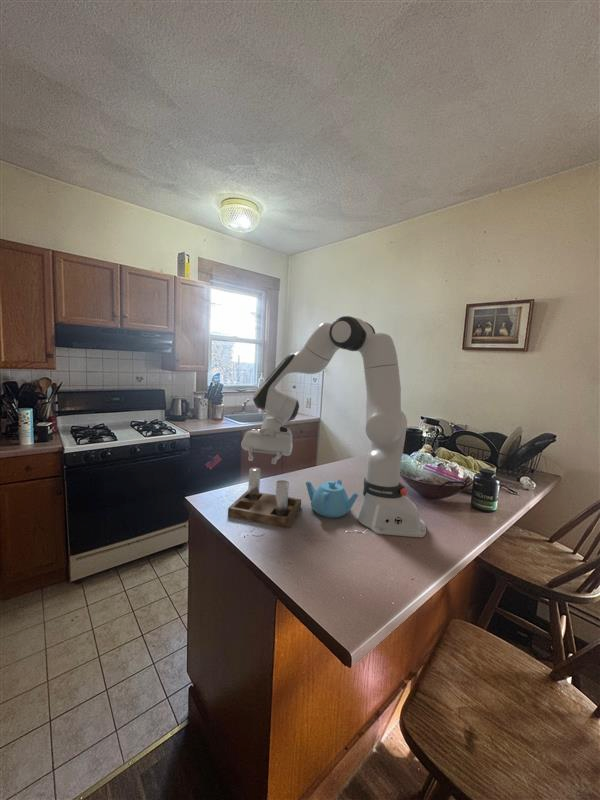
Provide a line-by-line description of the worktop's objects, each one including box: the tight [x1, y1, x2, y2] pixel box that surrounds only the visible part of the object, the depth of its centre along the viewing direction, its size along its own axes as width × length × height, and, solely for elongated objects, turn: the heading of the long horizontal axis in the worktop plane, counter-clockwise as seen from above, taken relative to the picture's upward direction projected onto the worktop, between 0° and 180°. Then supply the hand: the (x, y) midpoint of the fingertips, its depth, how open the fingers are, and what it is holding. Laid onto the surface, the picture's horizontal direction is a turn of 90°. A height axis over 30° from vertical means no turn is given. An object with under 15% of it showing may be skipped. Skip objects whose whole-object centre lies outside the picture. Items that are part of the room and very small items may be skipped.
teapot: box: [305, 479, 359, 519], centre depth 116 cm, size 15×15×11 cm
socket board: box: [227, 489, 302, 529], centre depth 111 cm, size 21×16×3 cm
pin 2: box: [275, 479, 290, 517], centre depth 105 cm, size 4×4×13 cm
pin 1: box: [247, 467, 261, 500], centre depth 116 cm, size 4×4×13 cm
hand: (261, 461), depth 122 cm, fingers open, 8 cm apart
